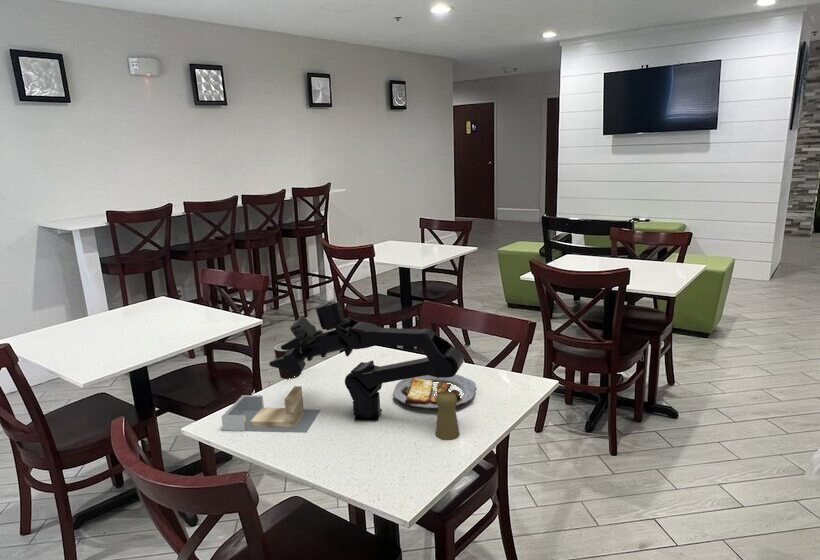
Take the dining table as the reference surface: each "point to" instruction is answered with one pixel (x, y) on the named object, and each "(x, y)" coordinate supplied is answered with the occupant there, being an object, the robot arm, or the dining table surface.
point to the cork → (446, 416)
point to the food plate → (431, 390)
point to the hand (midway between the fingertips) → (275, 355)
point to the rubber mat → (299, 428)
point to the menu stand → (282, 412)
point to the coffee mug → (280, 353)
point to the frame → (241, 412)
